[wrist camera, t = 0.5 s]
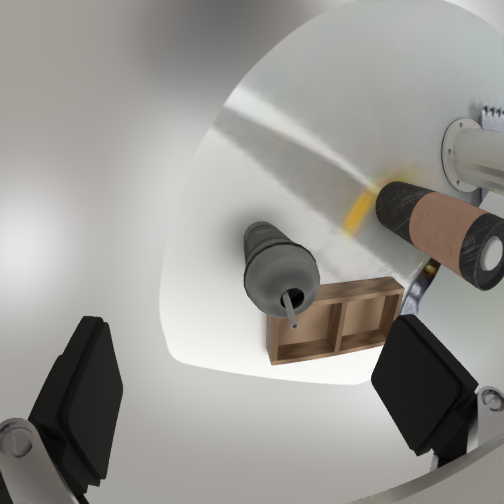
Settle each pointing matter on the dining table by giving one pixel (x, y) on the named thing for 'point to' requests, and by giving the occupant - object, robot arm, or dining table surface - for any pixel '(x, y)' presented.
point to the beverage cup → (278, 273)
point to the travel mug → (446, 231)
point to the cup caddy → (337, 321)
